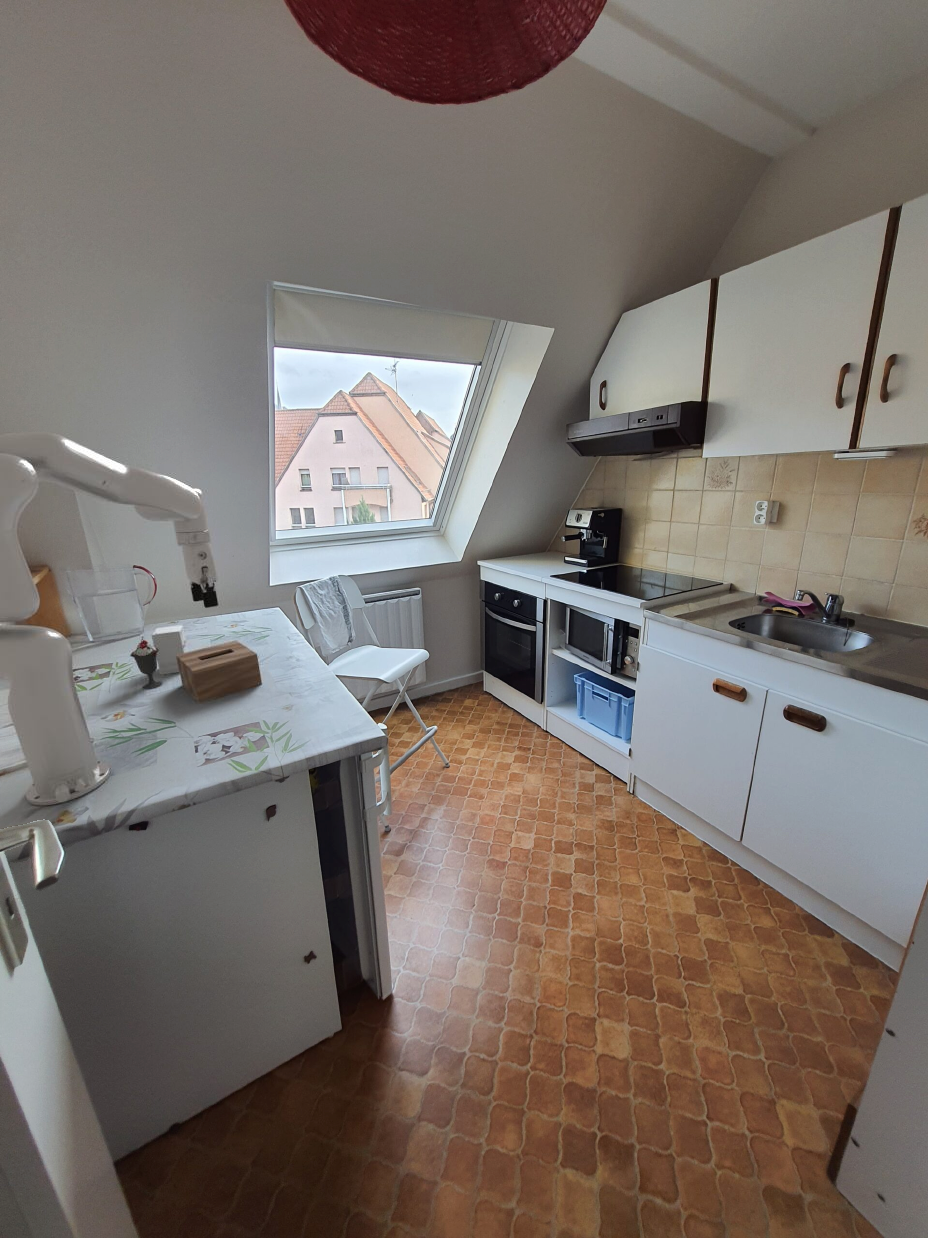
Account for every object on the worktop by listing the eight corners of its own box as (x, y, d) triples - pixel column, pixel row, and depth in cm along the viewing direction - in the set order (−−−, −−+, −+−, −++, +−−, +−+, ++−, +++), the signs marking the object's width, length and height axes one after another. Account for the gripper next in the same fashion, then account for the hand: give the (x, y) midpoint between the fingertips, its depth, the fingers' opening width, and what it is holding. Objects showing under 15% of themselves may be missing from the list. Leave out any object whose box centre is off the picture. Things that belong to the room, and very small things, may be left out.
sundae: (153, 691, 131) (141, 639, 126) (132, 689, 132) (119, 638, 128) (172, 681, 137) (160, 631, 132) (152, 680, 138) (140, 630, 134)
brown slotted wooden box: (262, 683, 133) (256, 653, 131) (199, 703, 123) (192, 671, 120) (241, 668, 145) (236, 640, 142) (182, 685, 134) (175, 655, 132)
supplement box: (188, 671, 144) (179, 631, 140) (159, 675, 141) (150, 634, 138) (191, 662, 151) (183, 624, 147) (164, 666, 148) (155, 627, 144)
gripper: (220, 539, 118) (231, 606, 123) (199, 534, 130) (210, 595, 135) (186, 542, 113) (200, 612, 118) (168, 537, 125) (180, 601, 130)
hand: (205, 603), depth 127 cm, fingers open, 9 cm apart
